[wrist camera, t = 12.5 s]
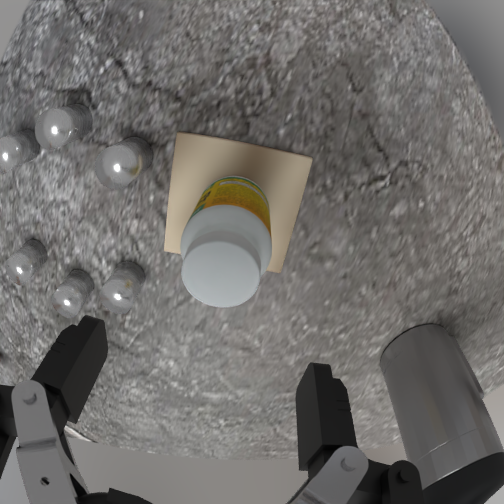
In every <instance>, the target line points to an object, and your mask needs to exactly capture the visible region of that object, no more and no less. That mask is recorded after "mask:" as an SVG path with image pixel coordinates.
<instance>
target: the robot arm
mask: <svg viewBox="0 0 504 504" xmlns="http://www.w3.org/2000/svg"><path fill="white" fill-rule="evenodd" d="M107 353H108V344H107V337H106V330H105V323H104V321H103V320H101V319H98V318H94V317H91V316H88V315H85V316H84V317H83V318H82V320H81V321H80V323H79V324H78V326H76V325H73V324H71V325H70V326H69V327H67V328H66V329H64V330H63V331H62V332H61V333H60V335H59V336H58V338H57V339H56V342H55V343H54V344H53V345H52V347H51V350H49V351H48V353H47V355H46V356H45V358H44V359H43V361H42V362H41V364H40V366H39V367H38V369H37V370H36V372H35V374H34V375H33V377H32V378H31V379H30V380H25V381H22V382H20V383H18V384H17V385H16V386H6V385H0V479H1V476H2V473H3V470H4V467H5V465H6V462H7V459H8V457H9V454H10V451H11V449H12V446H13V444H14V441H15V439H16V437H18V440H19V447H17V449H16V453H17V459H18V463H19V467H20V471H21V475H22V479H23V482H24V486H25V489H26V492H27V496H28V499H29V502H30V504H152V503H150V502H148V501H146V500H144V499H143V498H141V497H139V496H135V495H132V494H128V493H125V492H121V491H118V490H115V489H112V488H109V492H108V493H105V492H103V493H102V492H101V493H100V492H98V493H89V491H88V489H87V486H86V484H85V482H84V479H83V478H82V476H81V474H80V472H79V470H78V467H77V465H76V462H75V459H74V456H73V454H72V451H71V448H70V445H69V441H68V439H67V435H66V432H65V429H64V427H65V425H66V423H67V421H70V422H72V423H75V424H76V423H77V421H78V419H79V416H80V414H81V412H82V410H83V407H84V405H85V403H86V401H87V399H88V396H89V394H90V392H91V390H92V388H93V386H94V383H95V381H96V379H97V377H98V375H99V373H100V371H101V369H102V367H103V365H104V363H105V360H106V358H107ZM380 366H381V370H382V373H383V376H384V379H385V382H386V385H387V389H388V392H389V395H390V399H391V402H392V405H393V409H394V412H395V416H396V419H397V423H398V426H399V430H400V433H401V437H402V441H403V444H404V448H405V452H406V456H407V460H408V461H405V460H401V461H397V462H395V463H394V464H392V465H386V464H382V463H379V462H374V461H372V460H370V459H367V457H366V455H365V454H364V453H363V452H362V451H361V450H360V449H359V448H358V446H357V442H356V436H355V430H354V425H353V419H352V414H351V412H350V410H351V408H350V403H349V398H348V393H347V389H346V387H345V386H344V384H343V383H342V381H341V380H340V379H336V378H333V377H332V371H331V367H330V365H329V364H320V363H309V365H308V367H307V369H306V371H305V373H304V375H303V377H302V379H301V381H300V383H299V385H298V388H297V391H296V415H297V435H298V457H299V470H301V471H308V477H309V478H308V479H307V480H306V481H305V482H304V484H303V485H302V486H301V487H300V488H299V490H297V492H296V493H295V494H294V495H293V496H292V497H291V499H290V500H289V501H288V502H287V503H286V504H484V503H485V502H486V501H487V500H488V499H489V498H490V497H491V496H492V495H493V494H495V493H496V492H497V491H498V490H499V489H500V488H501V487H502V486H503V485H504V449H503V446H502V444H501V441H500V439H499V436H498V434H497V431H496V429H495V427H494V425H493V422H492V420H491V418H490V415H489V413H488V411H487V409H486V407H485V404H484V402H483V400H482V399H483V397H484V392H483V390H482V388H481V386H480V384H479V382H478V380H477V378H476V376H475V374H474V372H473V370H472V368H471V366H470V365H469V363H468V361H467V359H466V357H465V355H464V353H463V352H462V350H461V348H460V346H459V344H458V343H457V341H456V339H455V337H454V336H449V334H448V333H447V331H446V330H445V329H444V328H443V327H441V326H439V325H433V324H430V325H423V326H419V327H416V328H413V329H411V330H409V331H407V332H405V333H403V334H402V335H400V336H399V337H398V338H396V339H395V340H394V341H393V342H392V343H391V344H390V345H389V346H388V347H387V348H386V350H385V351H384V353H383V355H382V357H381V361H380Z"/></svg>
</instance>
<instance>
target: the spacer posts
mask: <svg viewBox="0 0 504 504" xmlns="http://www.w3.org/2000/svg"><path fill="white" fill-rule="evenodd" d="M91 125H92V116H91V113H90V111H89V109H88V108H87V107H86V106H84V105H82V104H74V105H69V106H64V107H59V108H54V109H50V110H46V111H44V112H43V113H42V114H41V115H40V116H39V117H38V119H37V122H36V125H35V132H34V131H33V130H31V129H26V130H23V131H20V132H17V133H14V134H11V135H8V136H5V137H3V138H0V174H4V173H7V172H8V171H10V170H12V169H14V168H16V167H18V166H20V165H22V164H25V163H27V162H29V161H31V160H33V159H34V158H35V157H36V156H37V154H38V152H39V147H40V145H41V146H42V147H43V148H45V149H47V150H53V149H56V148H58V147H60V146H63V145H65V144H68V143H70V142H73V141H75V140H78V139H80V138H83V137H84V136H86V135H87V134H88V132H89V131H90V128H91ZM152 156H153V154H152V149H151V147H150V145H149V144H148V142H147V141H145V140H144V139H142V138H140V137H130V138H127V139H125V140H123V141H121V142H118V143H116V144H114V145H112V146H110V147H108V148H106V149H104V150H103V151H101V152H100V153H99V155H98V157H97V159H96V162H95V172H96V175H97V178H98V179H99V181H100V182H101V183H102V184H103V185H104V186H106V187H107V188H110V189H121V188H123V187H125V186H126V185H128V184H129V183H130V182H131V181H133V180H134V179H135V178H136V177H138V176H139V175H140V174H141V173H142V172H144V171H145V170H146V169H147V168H148V167H149V166H150V164H151V162H152ZM46 260H47V252H46V250H45V248H44V246H43V245H42V244H41V243H40V242H39V241H38V240H35V239H30V240H29V241H27V242H26V243H25V244H24V245H23V246H22V247H21V248H20V249H18V250H17V251H16V252H15V253H14V254H13V255H12V256H11V257H10V258H9V259H8V260H7V261H6V263H5V268H6V271H7V274H8V275H9V277H10V278H11V279H12V281H14V282H15V283H16V284H18V285H24V284H26V282H27V281H28V280H29V279H30V278H31V277H32V276H33V275H34V274H35V273H36V272H37V270H38V269H39V268H40V267H41V266H42V265H43V264H44V263H45V262H46ZM144 281H145V274H144V271H143V270H142V268H141V267H140V266H139V265H138V264H136V263H134V262H132V261H122V262H120V263H119V264H118V265H117V267H116V268H115V270H114V271H113V273H112V274H111V276H110V277H109V279H108V280H107V282H106V283H105V285H104V286H103V288H102V289H101V291H100V300H101V302H102V304H103V305H104V306H105V307H106V308H107V309H108V310H109V311H111V312H113V313H116V314H125V313H127V312H128V311H129V310H130V309H131V307H132V305H133V303H134V301H135V299H136V297H137V295H138V293H139V291H140V289H141V287H142V285H143V283H144ZM93 289H94V283H93V280H92V278H91V277H90V276H89V275H88V274H87V273H86V272H84V271H82V270H79V269H75V270H73V271H71V273H70V274H69V275H68V276H67V278H66V279H65V280H64V281H63V282H62V284H61V285H60V286H59V287H58V289H57V290H56V291H55V292H54V294H53V295H52V297H51V301H52V304H53V306H54V308H55V309H56V311H57V312H58V313H60V314H61V315H63V316H65V317H67V318H73V317H75V316H76V315H77V313H78V312H79V310H80V309H81V307H82V306H83V304H84V303H85V301H86V300H87V298H88V297H89V295H90V294H91V292H92V291H93Z"/></svg>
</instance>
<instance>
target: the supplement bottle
mask: <svg viewBox="0 0 504 504" xmlns="http://www.w3.org/2000/svg"><path fill="white" fill-rule="evenodd" d="M180 249H181V255H182V259H183V264H182V269H181V274H182V279H183V283H184V285H185V287H186V288H187V290H188V291H189V293H190V294H191V295H192V296H193V297H195V298H196V299H197V300H199V301H201V302H203V303H205V304H207V305H210V306H214V307H223V308H225V307H233V306H237V305H240V304H242V303H244V302H246V301H247V300H248V299H249V298H251V297H252V296H253V294H254V293H255V292H256V290H257V288H258V286H259V283H260V277H261V276H262V275H263V274H264V272H265V271H266V269H267V267H268V265H269V263H270V260H271V256H272V237H271V223H270V209H269V203H268V200H267V197H266V195H265V193H264V192H263V190H262V189H261V188H260V187H259V186H258V185H257V184H256V183H255V182H253V181H251V180H249V179H247V178H244V177H240V176H227V177H223V178H220V179H218V180H216V181H214V182H213V183H211V184H210V185H209V186H208V187H207V188H206V189H205V191H204V192H203V194H202V196H201V198H200V199H199V201H198V203H197V205H196V207H195V209H194V211H193V213H192V215H191V216H190V218H189V220H188V222H187V224H186V226H185V228H184V231H183V233H182V237H181V243H180Z"/></svg>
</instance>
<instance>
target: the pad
mask: <svg viewBox="0 0 504 504" xmlns="http://www.w3.org/2000/svg"><path fill="white" fill-rule="evenodd" d="M312 160H313V159H312V157H308V156H304V155H300V154H296V153H292V152H287V151H283V150H279V149H274V148H269V147H265V146H260V145H255V144H250V143H245V142H240V141H235V140H229V139H224V138H218V137H212V136H206V135H200V134H193V133H187V132H180V131H179V132H177V137H176V144H175V151H174V158H173V166H172V174H171V183H170V192H169V201H168V211H167V222H166V233H165V246H164V251H167V252H172V253H177V254H181V249H180V243H181V237H182V233H183V231H184V228H185V226H186V224H187V222H188V220H189V218H190V216H191V215H192V213H193V211H194V209H195V207H196V205H197V203H198V201H199V199H200V198H201V196H202V194H203V192H204V191H205V189H206V188H207V187H208V186H209V185H210V184H211V183H213V182H214V181H216V180H218V179H220V178H223V177H227V176H240V177H244V178H247V179H249V180H251V181H253V182H255V183H256V184H257V185H258V186H259V187H260V188H261V189H262V190H263V192H264V193H265V195H266V197H267V200H268V203H269V209H270V223H271V237H272V256H271V260H270V263H269V265H268V267H267V269H266V271H271V272H277V273H281V269H282V266H283V263H284V259H285V256H286V252H287V249H288V246H289V242H290V239H291V235H292V232H293V228H294V225H295V221H296V218H297V214H298V211H299V207H300V204H301V200H302V197H303V193H304V190H305V186H306V182H307V179H308V175H309V171H310V168H311V164H312Z"/></svg>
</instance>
